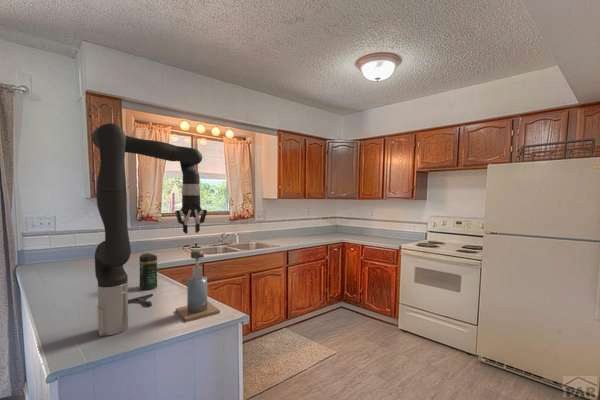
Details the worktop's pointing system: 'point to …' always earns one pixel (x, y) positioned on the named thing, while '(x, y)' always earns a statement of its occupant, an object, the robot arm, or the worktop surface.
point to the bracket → (143, 301)
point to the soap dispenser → (197, 298)
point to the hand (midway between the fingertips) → (191, 232)
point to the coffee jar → (148, 271)
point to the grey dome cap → (197, 256)
